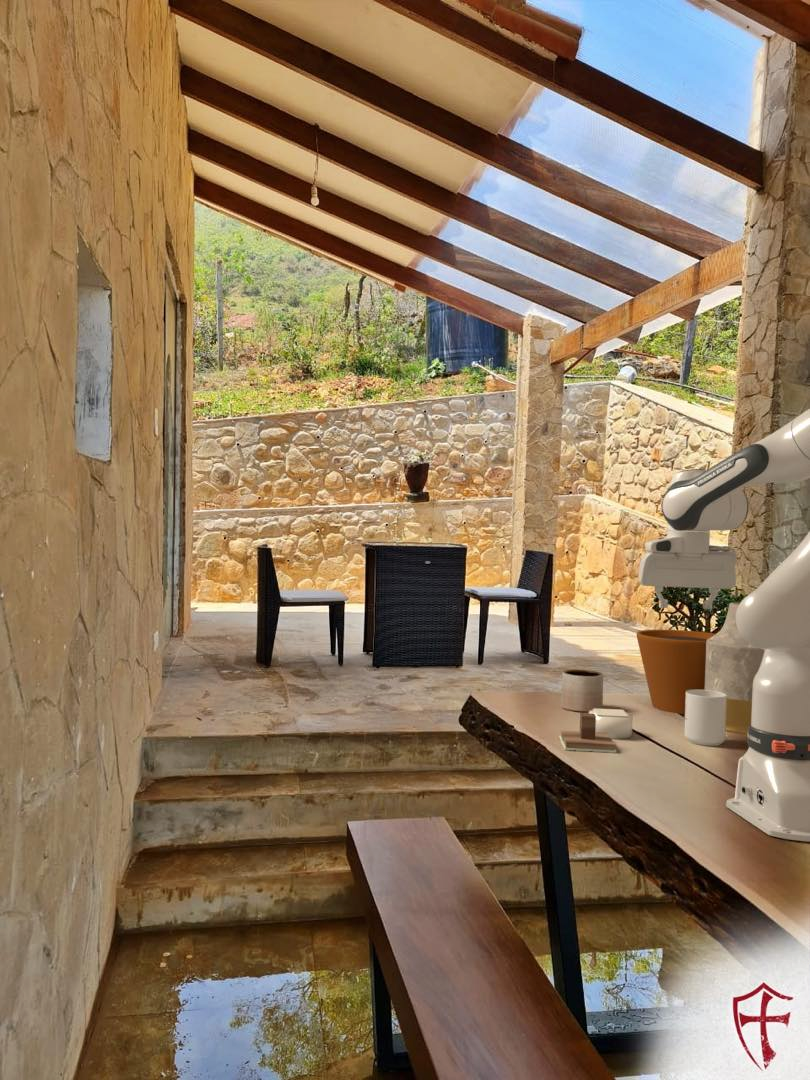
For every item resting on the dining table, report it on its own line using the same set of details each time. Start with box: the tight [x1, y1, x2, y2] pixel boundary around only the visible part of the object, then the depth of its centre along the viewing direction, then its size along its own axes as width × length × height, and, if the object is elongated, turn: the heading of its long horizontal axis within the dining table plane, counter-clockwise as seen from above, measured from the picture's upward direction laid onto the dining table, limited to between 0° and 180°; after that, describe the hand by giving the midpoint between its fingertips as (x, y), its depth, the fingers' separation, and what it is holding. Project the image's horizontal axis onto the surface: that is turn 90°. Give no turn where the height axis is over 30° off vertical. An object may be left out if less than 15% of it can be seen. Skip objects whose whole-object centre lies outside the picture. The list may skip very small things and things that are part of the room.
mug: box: [683, 690, 727, 747], centre depth 196 cm, size 12×9×11 cm
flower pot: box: [636, 629, 717, 715], centre depth 231 cm, size 24×24×20 cm
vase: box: [705, 601, 765, 735], centre depth 212 cm, size 18×18×30 cm
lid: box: [560, 712, 616, 750], centre depth 188 cm, size 10×10×6 cm
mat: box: [558, 735, 617, 754], centre depth 188 cm, size 11×11×1 cm
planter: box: [560, 669, 604, 713], centre depth 227 cm, size 11×11×10 cm
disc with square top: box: [589, 708, 633, 740], centre depth 200 cm, size 10×10×5 cm
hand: (685, 608), depth 185 cm, fingers open, 8 cm apart
